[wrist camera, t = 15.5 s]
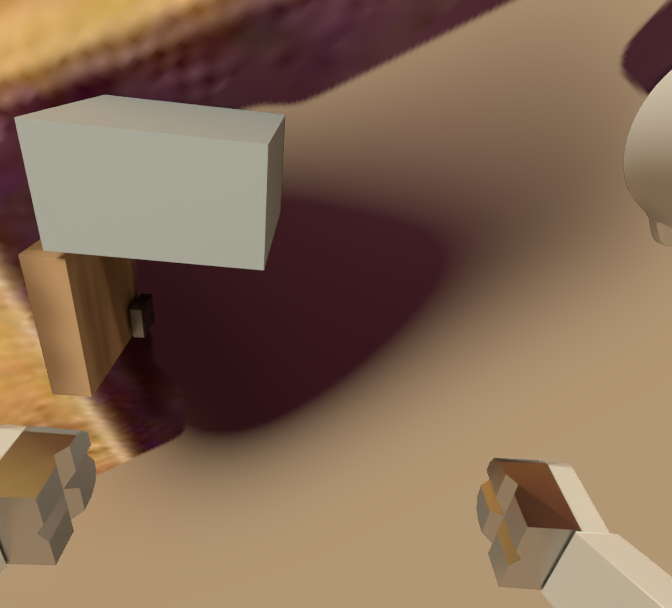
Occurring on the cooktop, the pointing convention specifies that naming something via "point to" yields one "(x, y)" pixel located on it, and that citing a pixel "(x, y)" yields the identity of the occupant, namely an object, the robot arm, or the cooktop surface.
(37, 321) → the door
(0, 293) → the cooktop surface
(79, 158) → the cabinet
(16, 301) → the cooktop surface
